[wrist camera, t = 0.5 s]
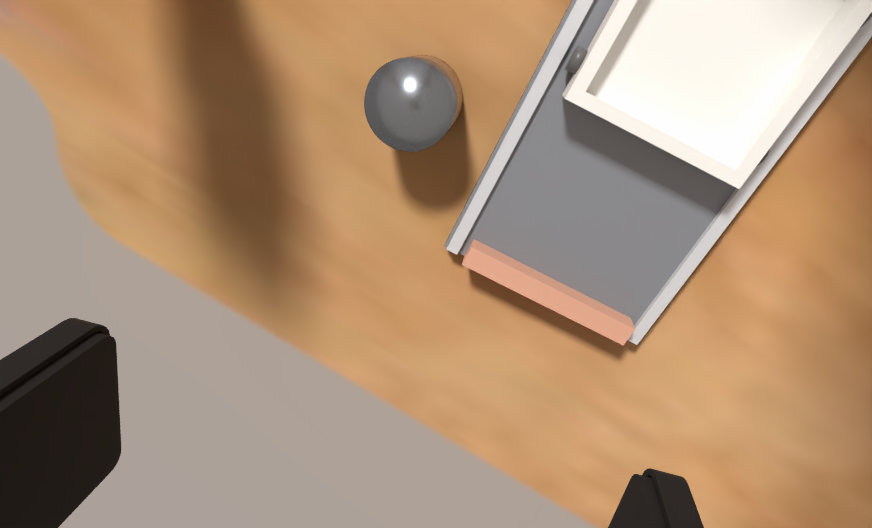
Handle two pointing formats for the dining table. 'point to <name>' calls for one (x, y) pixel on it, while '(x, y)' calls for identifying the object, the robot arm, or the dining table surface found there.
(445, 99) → the part
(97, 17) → the dining table surface
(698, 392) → the dining table surface
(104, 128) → the dining table surface
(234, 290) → the dining table surface
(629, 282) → the rail board
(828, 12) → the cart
